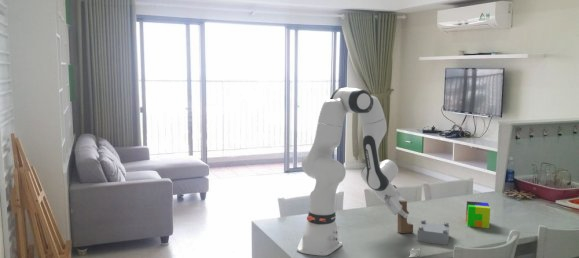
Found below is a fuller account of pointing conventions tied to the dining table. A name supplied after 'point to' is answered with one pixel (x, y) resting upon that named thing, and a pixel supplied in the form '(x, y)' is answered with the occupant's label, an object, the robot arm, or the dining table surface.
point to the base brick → (433, 232)
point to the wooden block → (404, 220)
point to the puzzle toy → (478, 214)
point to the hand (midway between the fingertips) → (407, 215)
